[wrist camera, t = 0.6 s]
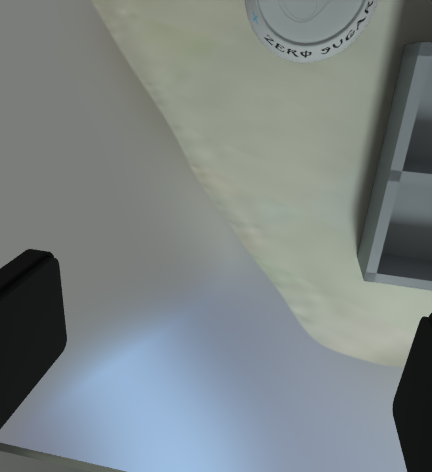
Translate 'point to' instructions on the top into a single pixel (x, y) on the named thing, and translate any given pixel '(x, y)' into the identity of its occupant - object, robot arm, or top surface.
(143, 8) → the top surface
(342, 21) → the energy drink can
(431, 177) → the can crate
